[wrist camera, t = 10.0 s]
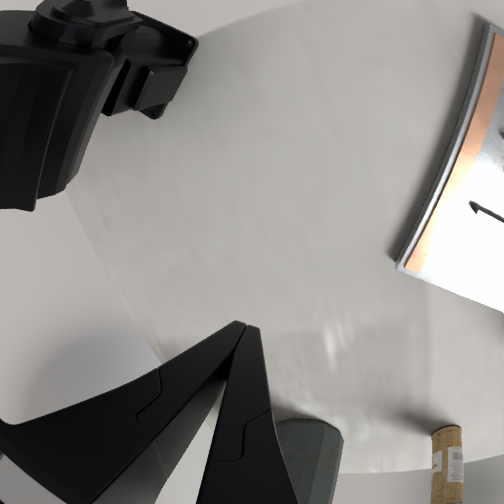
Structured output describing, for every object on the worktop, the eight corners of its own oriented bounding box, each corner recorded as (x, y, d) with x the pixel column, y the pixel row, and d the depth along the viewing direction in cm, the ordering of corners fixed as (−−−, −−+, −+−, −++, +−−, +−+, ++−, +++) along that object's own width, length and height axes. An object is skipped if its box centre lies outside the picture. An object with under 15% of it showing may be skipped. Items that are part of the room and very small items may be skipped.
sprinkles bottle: (426, 432, 32) (421, 523, 21) (456, 421, 29) (456, 515, 18) (438, 442, 33) (434, 525, 22) (466, 431, 30) (466, 517, 19)
